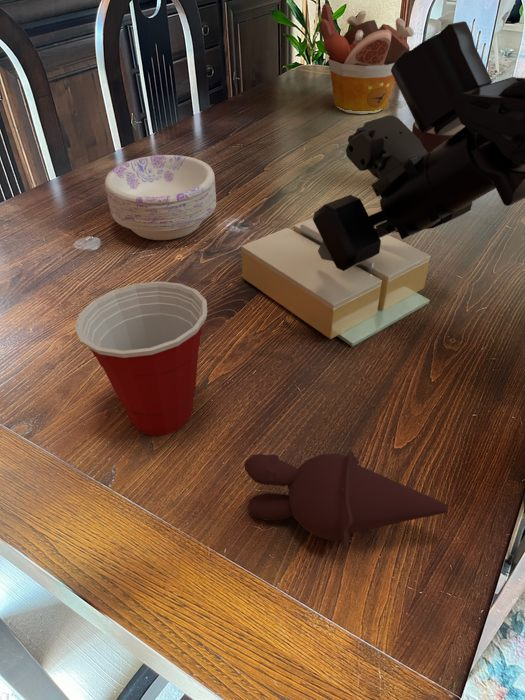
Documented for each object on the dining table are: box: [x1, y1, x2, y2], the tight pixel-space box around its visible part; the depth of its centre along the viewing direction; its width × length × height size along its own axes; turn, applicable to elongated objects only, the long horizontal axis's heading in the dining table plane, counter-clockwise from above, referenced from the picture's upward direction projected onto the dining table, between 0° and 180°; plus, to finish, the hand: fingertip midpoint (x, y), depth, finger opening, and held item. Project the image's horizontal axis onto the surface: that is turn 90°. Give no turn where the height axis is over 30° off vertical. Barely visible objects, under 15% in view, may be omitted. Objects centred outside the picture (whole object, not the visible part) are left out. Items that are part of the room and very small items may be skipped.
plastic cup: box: [74, 280, 208, 437], centre depth 49 cm, size 11×11×12 cm
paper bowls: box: [104, 154, 217, 241], centre depth 79 cm, size 15×15×8 cm
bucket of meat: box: [318, 3, 415, 111], centre depth 119 cm, size 20×16×20 cm
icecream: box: [244, 449, 449, 549], centre depth 41 cm, size 7×7×15 cm
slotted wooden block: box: [240, 217, 432, 348], centre depth 67 cm, size 20×16×5 cm
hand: (350, 241), depth 63 cm, fingers open, 9 cm apart
